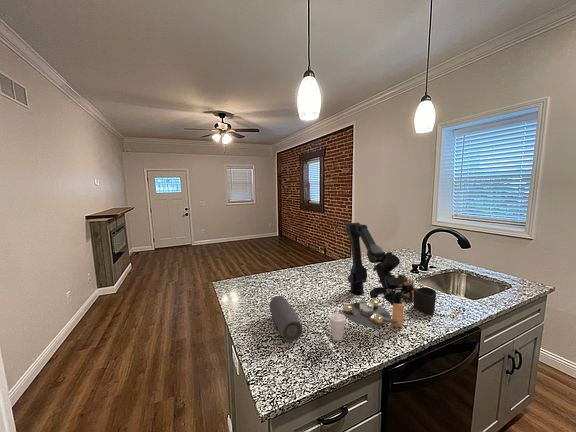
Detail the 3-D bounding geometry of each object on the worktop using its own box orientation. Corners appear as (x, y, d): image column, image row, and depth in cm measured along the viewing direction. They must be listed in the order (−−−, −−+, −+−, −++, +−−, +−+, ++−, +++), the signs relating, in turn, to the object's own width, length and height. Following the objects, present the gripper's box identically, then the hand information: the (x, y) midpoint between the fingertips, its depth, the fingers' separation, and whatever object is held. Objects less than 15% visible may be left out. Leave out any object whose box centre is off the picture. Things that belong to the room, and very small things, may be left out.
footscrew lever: (373, 324, 104) (373, 302, 103) (373, 319, 108) (374, 298, 107) (402, 329, 100) (403, 307, 99) (402, 324, 104) (403, 302, 102)
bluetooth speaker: (304, 342, 95) (304, 317, 94) (281, 347, 93) (280, 322, 91) (287, 313, 117) (287, 293, 116) (268, 316, 114) (267, 296, 113)
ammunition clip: (414, 301, 127) (415, 278, 126) (411, 301, 126) (413, 279, 125) (397, 293, 137) (398, 272, 135) (395, 293, 136) (396, 272, 135)
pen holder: (434, 317, 111) (436, 296, 110) (411, 312, 116) (412, 292, 115) (435, 308, 119) (436, 289, 118) (413, 304, 124) (414, 285, 123)
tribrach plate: (333, 313, 116) (333, 300, 115) (362, 300, 128) (362, 289, 127) (371, 334, 99) (371, 320, 98) (400, 318, 111) (401, 305, 110)
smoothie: (327, 335, 99) (327, 302, 97) (342, 334, 99) (343, 302, 98) (331, 346, 93) (331, 311, 91) (348, 345, 93) (348, 310, 91)
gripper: (374, 269, 103) (389, 307, 94) (412, 266, 107) (430, 301, 98) (363, 280, 112) (376, 315, 103) (399, 276, 116) (414, 310, 107)
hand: (399, 310), depth 102 cm, fingers closed
